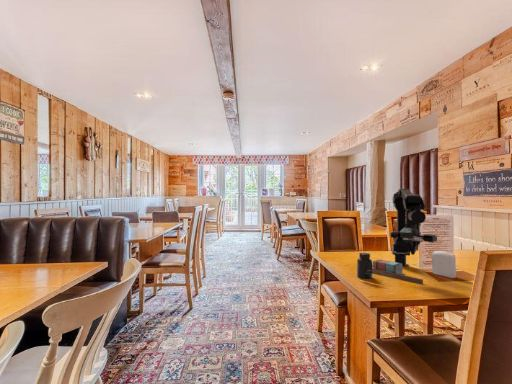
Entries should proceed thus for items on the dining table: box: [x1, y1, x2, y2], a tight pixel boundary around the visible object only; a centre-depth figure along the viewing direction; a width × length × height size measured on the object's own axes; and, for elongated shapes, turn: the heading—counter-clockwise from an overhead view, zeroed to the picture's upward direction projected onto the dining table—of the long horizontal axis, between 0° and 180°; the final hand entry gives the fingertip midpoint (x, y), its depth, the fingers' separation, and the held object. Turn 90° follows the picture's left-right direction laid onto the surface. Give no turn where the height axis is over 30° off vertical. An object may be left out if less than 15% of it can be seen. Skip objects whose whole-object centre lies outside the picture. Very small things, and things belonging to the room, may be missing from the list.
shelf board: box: [372, 258, 424, 285], centre depth 138 cm, size 11×24×6 cm, turn 39°
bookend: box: [393, 263, 406, 276], centre depth 138 cm, size 7×2×5 cm, turn 129°
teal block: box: [386, 261, 398, 273], centre depth 141 cm, size 6×4×6 cm, turn 129°
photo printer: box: [431, 250, 457, 279], centre depth 139 cm, size 10×4×12 cm, turn 26°
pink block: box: [377, 259, 392, 271], centre depth 144 cm, size 6×4×6 cm, turn 129°
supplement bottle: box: [356, 252, 373, 280], centre depth 136 cm, size 7×7×12 cm
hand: (412, 254), depth 133 cm, fingers closed
